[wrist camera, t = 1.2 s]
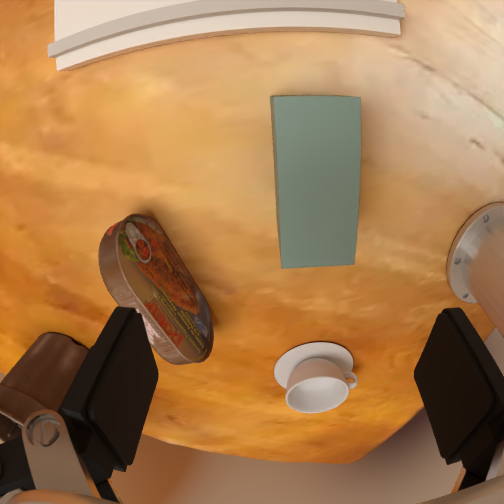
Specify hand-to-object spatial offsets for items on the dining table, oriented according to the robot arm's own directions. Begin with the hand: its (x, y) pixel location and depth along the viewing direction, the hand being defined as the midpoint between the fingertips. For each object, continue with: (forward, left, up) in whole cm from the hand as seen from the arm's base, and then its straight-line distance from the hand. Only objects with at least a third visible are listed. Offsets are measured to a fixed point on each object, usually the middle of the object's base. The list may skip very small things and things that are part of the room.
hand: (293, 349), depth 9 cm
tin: (+10, +9, -20) cm, 24 cm away
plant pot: (+30, +24, -20) cm, 43 cm away
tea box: (-3, -1, -20) cm, 20 cm away
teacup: (-4, +24, -20) cm, 31 cm away
